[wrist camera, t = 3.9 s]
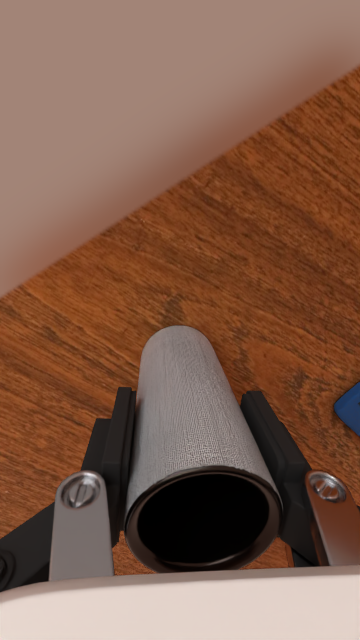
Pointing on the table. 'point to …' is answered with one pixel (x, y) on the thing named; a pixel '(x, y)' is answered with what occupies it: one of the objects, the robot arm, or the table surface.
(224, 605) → the robot arm
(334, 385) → the table surface
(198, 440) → the planter
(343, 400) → the cell phone
